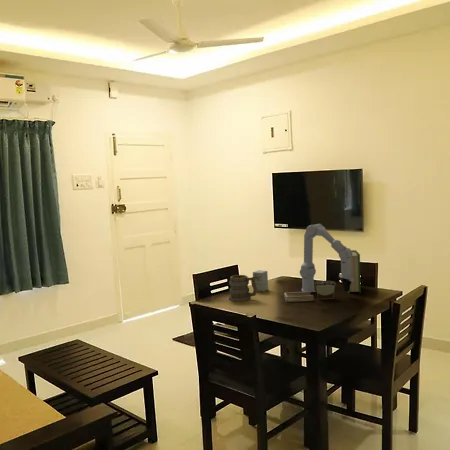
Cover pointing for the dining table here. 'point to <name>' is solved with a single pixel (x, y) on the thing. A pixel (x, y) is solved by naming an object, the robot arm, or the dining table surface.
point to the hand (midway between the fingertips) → (346, 291)
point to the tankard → (242, 287)
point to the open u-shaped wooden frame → (298, 296)
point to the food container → (325, 289)
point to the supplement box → (261, 280)
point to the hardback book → (355, 272)
